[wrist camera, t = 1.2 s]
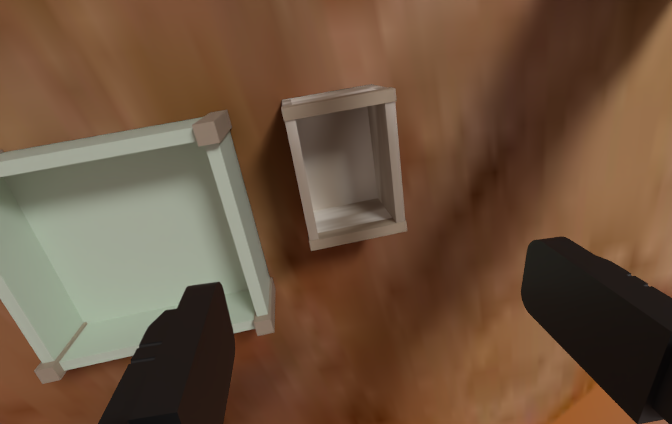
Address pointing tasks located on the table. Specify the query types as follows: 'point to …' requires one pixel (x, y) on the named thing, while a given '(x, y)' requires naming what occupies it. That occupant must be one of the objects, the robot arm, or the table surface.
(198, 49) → the table surface
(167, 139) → the large crate
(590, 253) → the robot arm
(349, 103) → the small crate
